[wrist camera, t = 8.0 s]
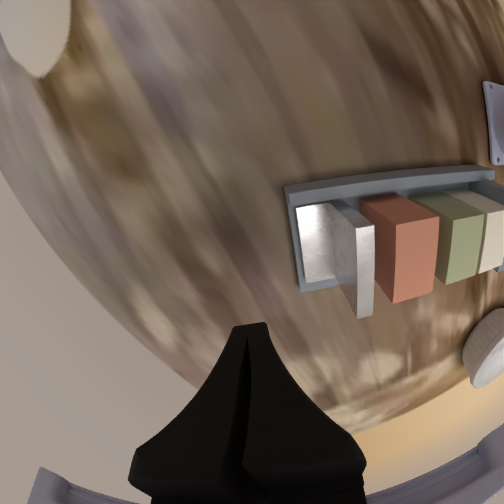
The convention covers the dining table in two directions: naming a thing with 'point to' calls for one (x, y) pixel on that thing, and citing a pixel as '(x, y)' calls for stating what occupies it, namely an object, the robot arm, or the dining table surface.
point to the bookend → (339, 250)
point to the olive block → (454, 236)
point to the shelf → (381, 184)
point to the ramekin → (485, 349)
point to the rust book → (402, 245)
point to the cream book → (485, 227)
